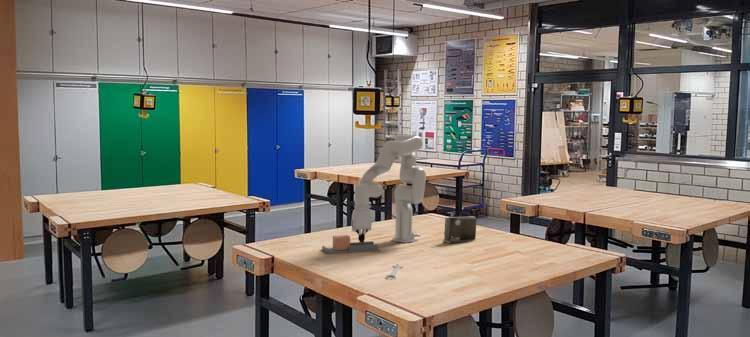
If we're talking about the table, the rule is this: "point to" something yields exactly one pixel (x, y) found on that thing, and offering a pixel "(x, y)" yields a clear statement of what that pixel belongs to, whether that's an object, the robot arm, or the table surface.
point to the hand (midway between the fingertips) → (361, 241)
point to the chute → (354, 248)
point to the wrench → (394, 272)
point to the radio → (459, 229)
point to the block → (341, 242)
